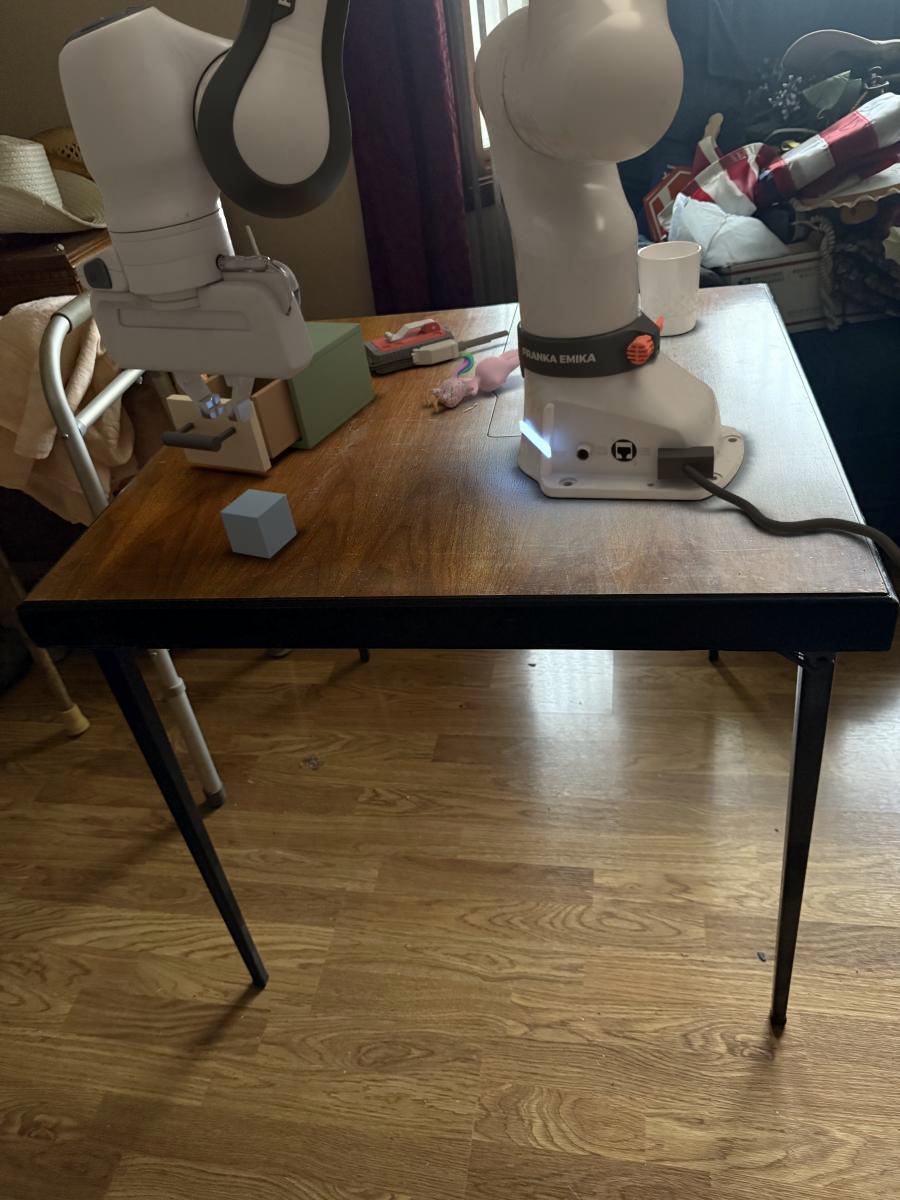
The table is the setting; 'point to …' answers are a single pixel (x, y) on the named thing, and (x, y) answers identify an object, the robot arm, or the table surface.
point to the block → (258, 523)
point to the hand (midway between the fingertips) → (227, 417)
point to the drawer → (236, 427)
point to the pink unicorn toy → (486, 376)
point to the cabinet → (330, 381)
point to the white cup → (670, 284)
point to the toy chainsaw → (418, 346)
